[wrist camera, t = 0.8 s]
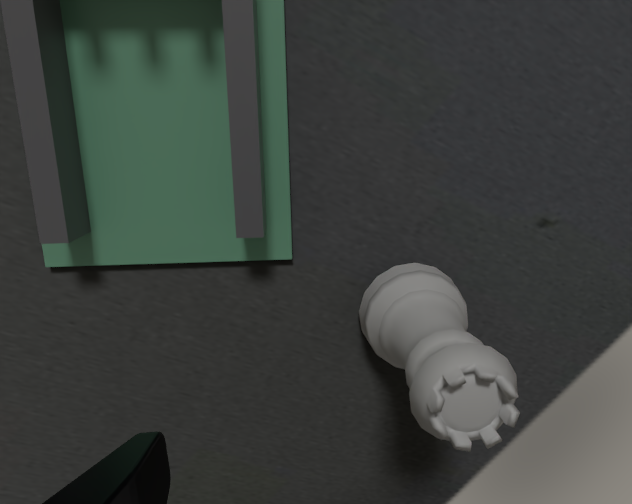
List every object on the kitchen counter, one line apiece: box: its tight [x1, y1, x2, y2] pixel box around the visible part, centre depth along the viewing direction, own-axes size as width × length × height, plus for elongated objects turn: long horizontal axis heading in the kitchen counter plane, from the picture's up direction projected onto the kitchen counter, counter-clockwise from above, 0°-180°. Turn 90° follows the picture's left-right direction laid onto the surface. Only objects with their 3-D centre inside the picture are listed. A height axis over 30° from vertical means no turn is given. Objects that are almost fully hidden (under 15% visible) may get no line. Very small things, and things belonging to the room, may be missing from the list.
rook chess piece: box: [359, 263, 520, 452], centre depth 17 cm, size 4×4×8 cm
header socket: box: [0, 0, 292, 267], centre depth 16 cm, size 13×10×4 cm
